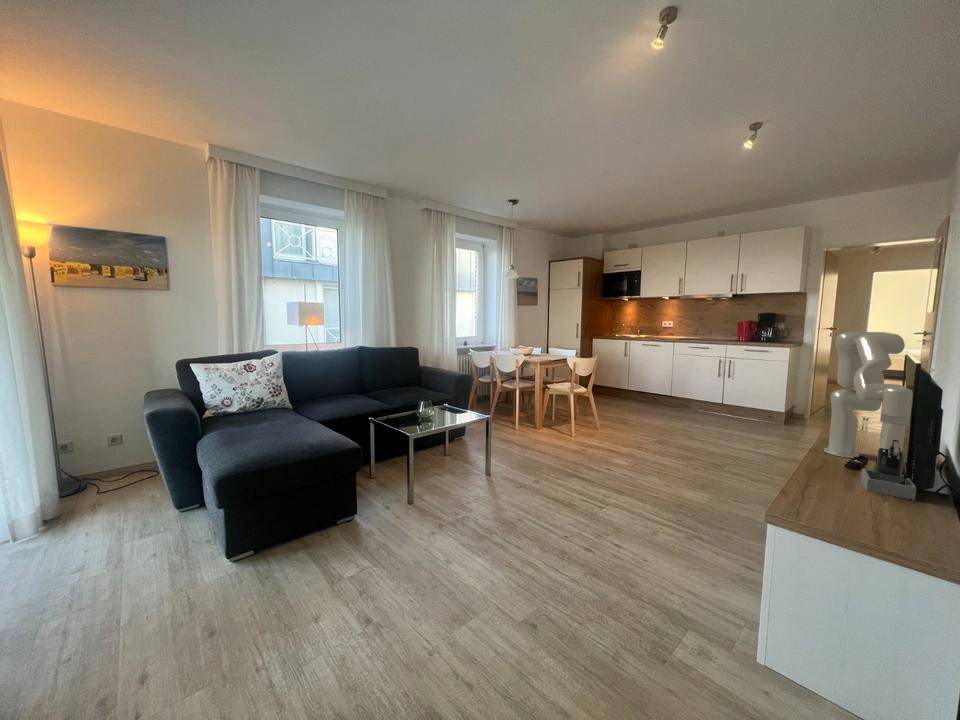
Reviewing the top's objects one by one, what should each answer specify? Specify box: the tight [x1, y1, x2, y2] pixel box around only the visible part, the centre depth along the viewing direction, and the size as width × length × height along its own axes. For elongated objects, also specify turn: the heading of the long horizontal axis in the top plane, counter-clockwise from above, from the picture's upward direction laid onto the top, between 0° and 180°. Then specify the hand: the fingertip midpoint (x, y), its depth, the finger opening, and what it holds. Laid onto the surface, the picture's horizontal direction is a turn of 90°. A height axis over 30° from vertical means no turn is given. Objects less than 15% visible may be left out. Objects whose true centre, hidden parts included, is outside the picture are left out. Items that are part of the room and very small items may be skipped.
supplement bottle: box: [875, 443, 905, 476], centre depth 148 cm, size 7×7×12 cm
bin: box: [860, 468, 917, 501], centre depth 150 cm, size 13×13×5 cm
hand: (889, 464), depth 149 cm, fingers closed on supplement bottle, 6 cm apart
